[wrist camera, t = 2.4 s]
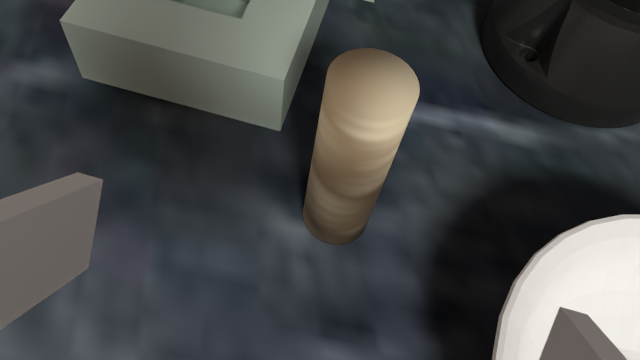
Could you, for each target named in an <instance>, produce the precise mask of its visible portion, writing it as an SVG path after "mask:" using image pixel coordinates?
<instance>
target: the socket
mask: <svg viewBox="0 0 640 360" xmlns="http://www.w3.org/2000/svg"><path fill="white" fill-rule="evenodd" d="M366 1H369V2H373V3H374V0H366ZM328 3H329V0H75V1H74V3H73V4H72V5H71V6H70V8H69V9H68V10H67V12H66V13H65V14H64V15H63V17H62V18H61V19H60V23H61V25H62V28H63V30H64V33H65V35H66V38H67V40H68V43H69V45H70V48H71V50H72V53H73V55H74V58H75V60H76V63H77V66H78V68H79V71H80V73H81V76H82V78H86V79H89V80H93V81H97V82H100V83H104V84H108V85H111V86H115V87H119V88H122V89H126V90H130V91H133V92H137V93H141V94H144V95H148V96H152V97H155V98H159V99H163V100H166V101H170V102H174V103H177V104H181V105H185V106H188V107H192V108H196V109H199V110H203V111H207V112H211V113H214V114H218V115H222V116H225V117H229V118H233V119H236V120H240V121H244V122H247V123H251V124H255V125H258V126H262V127H266V128H269V129H273V130H277V131H281V128H282V126H283V123H284V120H285V118H286V115H287V112H288V110H289V107H290V104H291V102H292V99H293V96H294V93H295V91H296V88H297V85H298V83H299V80H300V77H301V75H302V72H303V69H304V67H305V64H306V61H307V59H308V56H309V53H310V51H311V48H312V45H313V43H314V40H315V37H316V35H317V32H318V29H319V27H320V24H321V21H322V19H323V16H324V13H325V11H326V8H327V5H328Z"/></svg>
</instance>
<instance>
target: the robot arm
mask: <svg viewBox="0 0 640 360" xmlns="http://www.w3.org/2000/svg"><path fill="white" fill-rule="evenodd" d="M481 38H482V44H483V48H484V51H485V54H486V56H487V59H488V61H489V63H490V64H491V66H492V68H493V69H494V71H495V72H496V73H497V75H498V76H499V77H500V78H501V80H502V81H503V82H504V83H505V84H506V85H507V86H508V87H509V88H510V89H511V90H512V91H514V92H515V93H516V94H517V95H518V96H520V97H521V98H522V99H524V100H525V101H527V102H528V103H530V104H531V105H533V106H534V107H536V108H538V109H540V110H542V111H543V112H545V113H547V114H550V115H552V116H554V117H557V118H559V119H562V120H565V121H568V122H571V123H574V124H579V125H583V126H589V127H596V128H619V127H626V126H630V125H634V124H637V123H639V122H640V0H493V1H492V3H491V5H490V8H489V10H488V12H487V14H486V16H485V18H484V21H483V24H482V31H481ZM102 184H103V179H99V178H96V177H92V176H89V175H85V174H81V173H78V172H77V173H74V174H72V175H69V176H66V177H63V178H60V179H57V180H54V181H52V182H49V183H46V184H43V185H40V186H37V187H34V188H32V189H29V190H26V191H23V192H20V193H17V194H14V195H12V196H9V197H6V198H3V199H0V330H1V329H2V328H4V327H5V326H6V325H8V324H9V323H11V322H12V321H14V320H15V319H16V318H18V317H19V316H21V315H22V314H24V313H25V312H26V311H28V310H29V309H31V308H32V307H34V306H35V305H36V304H38V303H39V302H41V301H42V300H44V299H45V298H46V297H48V296H49V295H51V294H52V293H54V292H55V291H56V290H58V289H59V288H61V287H62V286H64V285H65V284H66V283H68V282H69V281H71V280H72V279H73V278H75V277H76V276H78V275H79V274H81V273H82V272H83V271H85V270H86V269H88V267H89V261H90V255H91V249H92V243H93V237H94V232H95V226H96V220H97V214H98V208H99V202H100V196H101V190H102ZM539 360H627V359H626V358H625V356H624V355H623V354H622V353H621V352H620V351H619V350H618V348H617V347H616V346H615V345H614V344H613V343H612V342H611V340H610V339H609V338H608V337H607V336H606V335H605V334H604V333H603V331H602V330H601V329H600V328H599V327H598V326H597V325H596V323H595V322H594V321H593V320H592V319H591V318H590V317H589V315H588V314H584V313H581V312H577V311H574V310H570V309H566V308H563V307H560V308H559V310H558V313H557V315H556V318H555V320H554V323H553V325H552V328H551V330H550V333H549V336H548V338H547V341H546V343H545V346H544V348H543V351H542V353H541V356H540V358H539Z"/></svg>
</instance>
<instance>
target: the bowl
mask: <svg viewBox="0 0 640 360" xmlns="http://www.w3.org/2000/svg"><path fill="white" fill-rule="evenodd" d="M560 307H563V308H566V309H570V310H574V311H577V312H581V313H584V314H588V315H589V317H590V318H591V319H592V320H593V321H594V322H595V323H596V325H597V326H598V327H599V328H600V329H601V330H602V331H603V333H604V334H605V335H606V336H607V337H608V338H609V339H610V340H611V342H612V343H613V344H614V345H615V346H616V347H617V348H618V350H619V351H620V352H621V353H622V354H623V355H624V356H625V358H626V359H627V360H640V215H618V216H613V217H607V218H602V219H597V220H592V221H587V222H585V223H583V224H581V225H578V226H576V227H574V228H572V229H570V230H567V231H565V232H563V233H561V234H559V235H557V236H556V237H555V238H554V239H552V240H551V241H550V242H549V243H547V244H546V245H545V246H544V247H542V248H541V249H540V250H539V251H537V252H536V253H535V254H534V255H533V256H532V257H531V259H530V260H529V261H528V263H527V264H526V265H525V267H524V268H523V269H522V271H521V272H520V273H519V275H518V276H517V277H516V279H515V280H514V282H513V284H512V286H511V289H510V291H509V293H508V296H507V298H506V301H505V303H504V305H503V308H502V310H501V313H500V315H499V319H498V325H497V331H496V337H495V343H494V348H493V354H492V360H539V358H540V356H541V353H542V351H543V348H544V346H545V343H546V341H547V338H548V336H549V333H550V330H551V328H552V325H553V323H554V320H555V318H556V315H557V313H558V310H559V308H560Z"/></svg>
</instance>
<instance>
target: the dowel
mask: <svg viewBox="0 0 640 360" xmlns="http://www.w3.org/2000/svg"><path fill="white" fill-rule="evenodd" d="M419 91H420V88H419V82H418V79H417V76H416V75H415V73H414V71H413V70H412V69H411V67H410V66H409V65H408V64H407V63H406V62H404V61H403V60H402V59H400V58H399V57H397V56H395V55H393V54H391V53H389V52H386V51H383V50H378V49H372V48H360V49H354V50H350V51H347V52H345V53H343V54H341V55H339V56H338V57H337V58H335V59H334V61H333V62H332V63H331V64H330V66H329V68H328V71H327V75H326V81H325V86H324V92H323V98H322V104H321V109H320V115H319V121H318V127H317V132H316V138H315V144H314V150H313V155H312V161H311V167H310V173H309V179H308V184H307V190H306V196H305V202H304V207H303V220H304V223H305V225H306V227H307V229H308V230H309V232H310V233H311V234H312V235H313V236H314V237H316V238H317V239H319V240H320V241H323V242H325V243H328V244H334V245H341V244H346V243H349V242H352V241H354V240H355V239H357V238H358V237H359V236H360V235H361V234H362V233H363V231H364V229H365V227H366V225H367V222H368V220H369V218H370V215H371V213H372V210H373V208H374V205H375V203H376V200H377V198H378V195H379V193H380V191H381V188H382V186H383V183H384V181H385V178H386V176H387V173H388V171H389V169H390V166H391V164H392V161H393V159H394V156H395V154H396V151H397V149H398V146H399V144H400V142H401V139H402V137H403V134H404V132H405V129H406V127H407V124H408V122H409V120H410V117H411V115H412V112H413V110H414V107H415V105H416V102H417V100H418V97H419Z"/></svg>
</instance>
